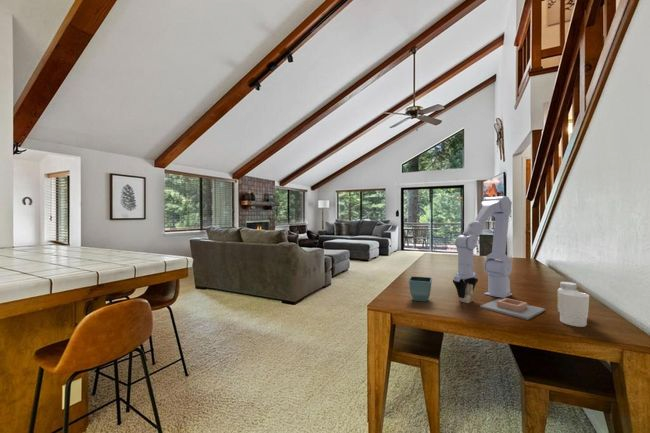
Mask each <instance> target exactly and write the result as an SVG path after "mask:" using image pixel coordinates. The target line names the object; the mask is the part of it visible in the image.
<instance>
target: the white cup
mask: <svg viewBox="0 0 650 433" xmlns="http://www.w3.org/2000/svg"><path fill="white" fill-rule="evenodd" d="M557 297H558V298H559V312H558V313H559V321H560V322H561V323H563V324H564V325H567V326H568V325H569V326H571V327H577V328H578V327H579V328H581V327H583V328H585V327H587V326H588V325H587V324H588V317H589V316H588V315H589V307H590V306H589V304H590V294H588V293H585V292H580V291H579V292H577V291H569V290H560V291H558V290H557Z"/></svg>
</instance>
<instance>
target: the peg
mask: <svg viewBox="0 0 650 433" xmlns="http://www.w3.org/2000/svg"><path fill="white" fill-rule="evenodd" d="M473 294H474V291H473V285H472V284H467V286H466V290H465V297H464V298H460V297H459V296H458V295H457V296H458V300H457V301H458V302H463V303H466V304H469V303H471V302H473V301H474V298H473V296H474V295H473Z"/></svg>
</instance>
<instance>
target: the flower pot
mask: <svg viewBox="0 0 650 433" xmlns="http://www.w3.org/2000/svg"><path fill="white" fill-rule="evenodd" d="M432 280H433V278H432V277H429V276H428V277H427V276H415V275H414V276H412V275H411V276H410V277H409V279H408V284H409V292H410V295H411V297H412V299H413V301H416V302H424V303H425V302H428V300H429V298H430V296H431V291H432V290H431V289H432Z"/></svg>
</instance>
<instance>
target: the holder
mask: <svg viewBox="0 0 650 433" xmlns="http://www.w3.org/2000/svg"><path fill="white" fill-rule="evenodd" d="M480 309H484V310H488V311H490V312H491V311H492V312H496V313H498V314H499V313H500V314H503V315H507V316H511V317H515V318H518V319H522V320H527V321H529V320H531V319H533V318H534V317H536V316H538V315H540V314H542V313H543V312H545V310H546V309H545V308H543V307H539V306H535V305H530V304H528V302H526V301H521V300H517V299H514V298H513V299H512V298H508V297H505V298H497V299H495V300H492V301H489V302H487V303H483V304H481V305H480Z"/></svg>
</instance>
